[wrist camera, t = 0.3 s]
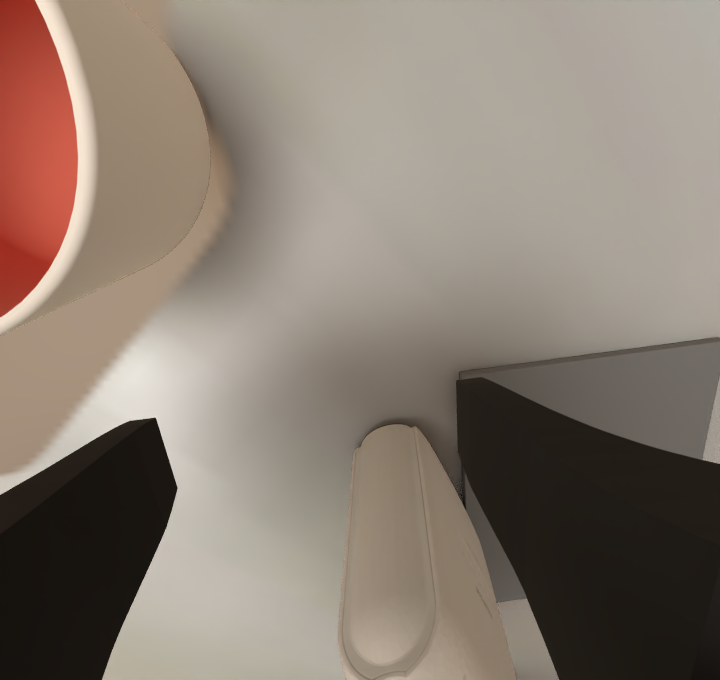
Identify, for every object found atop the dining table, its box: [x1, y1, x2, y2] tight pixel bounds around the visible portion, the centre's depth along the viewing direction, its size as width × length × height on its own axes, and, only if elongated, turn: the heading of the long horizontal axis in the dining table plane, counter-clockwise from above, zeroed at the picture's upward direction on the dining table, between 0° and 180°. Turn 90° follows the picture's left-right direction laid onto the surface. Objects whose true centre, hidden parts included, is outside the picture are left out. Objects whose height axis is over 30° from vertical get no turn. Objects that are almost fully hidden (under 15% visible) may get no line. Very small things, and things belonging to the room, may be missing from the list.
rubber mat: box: [459, 337, 720, 603], centre depth 24 cm, size 16×14×1 cm
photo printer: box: [338, 424, 516, 680], centre depth 18 cm, size 10×4×12 cm, turn 26°
